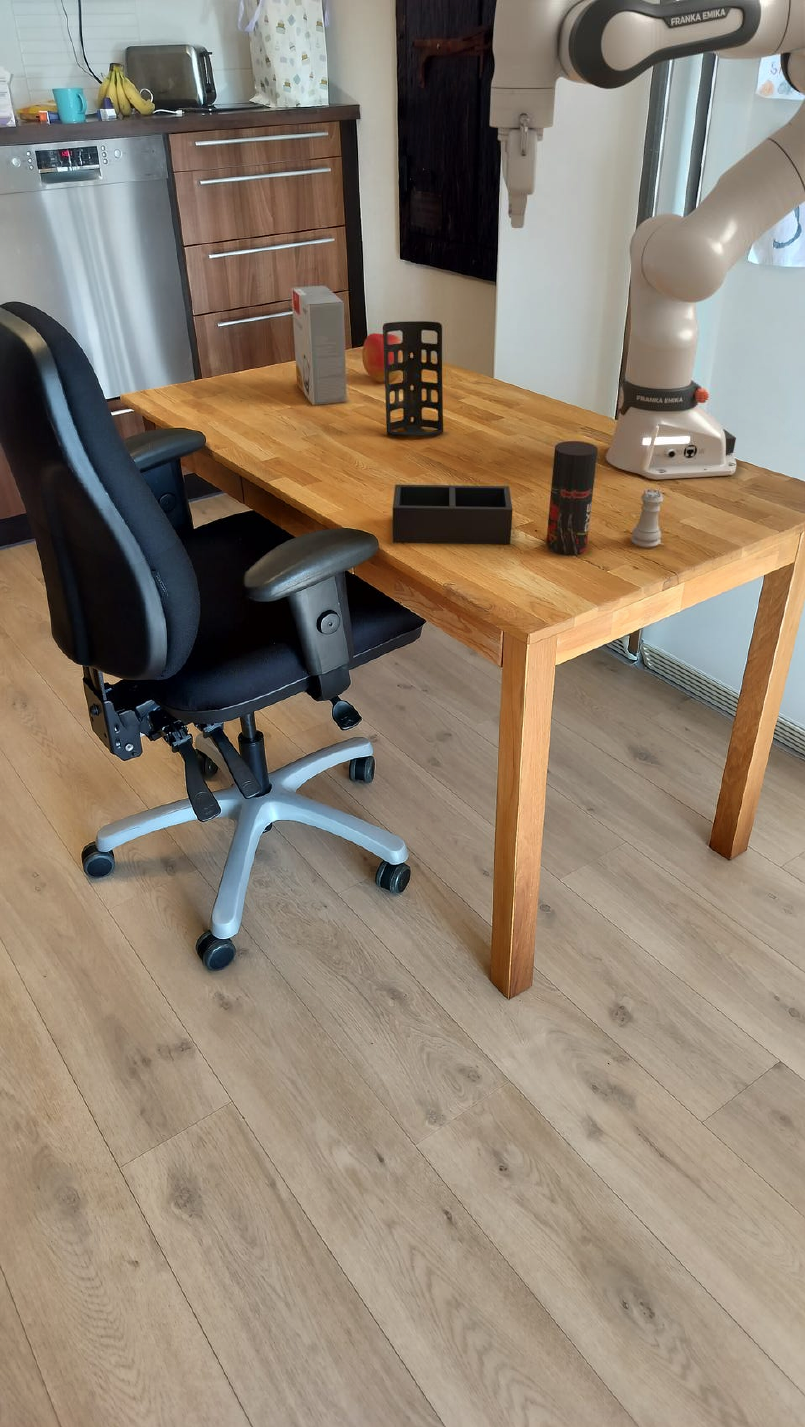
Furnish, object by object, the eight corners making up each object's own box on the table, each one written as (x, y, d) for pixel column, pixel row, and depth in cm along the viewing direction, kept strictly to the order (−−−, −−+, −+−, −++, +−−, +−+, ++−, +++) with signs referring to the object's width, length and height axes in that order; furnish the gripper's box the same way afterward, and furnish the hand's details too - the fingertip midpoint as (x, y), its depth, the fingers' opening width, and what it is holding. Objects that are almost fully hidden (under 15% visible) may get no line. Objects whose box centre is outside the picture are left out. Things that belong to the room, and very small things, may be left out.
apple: (375, 389, 213) (374, 341, 207) (355, 378, 220) (354, 331, 214) (414, 383, 217) (415, 335, 211) (393, 372, 224) (393, 326, 218)
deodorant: (585, 557, 144) (596, 456, 136) (544, 553, 145) (553, 453, 137) (587, 540, 149) (598, 442, 141) (547, 537, 150) (556, 439, 142)
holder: (390, 440, 185) (388, 326, 175) (380, 432, 191) (378, 321, 182) (447, 436, 187) (448, 323, 178) (435, 428, 194) (435, 318, 184)
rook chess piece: (656, 536, 150) (664, 485, 146) (663, 548, 147) (672, 497, 142) (627, 536, 150) (634, 486, 146) (633, 549, 147) (641, 497, 142)
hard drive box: (295, 385, 215) (290, 286, 204) (330, 382, 217) (326, 284, 206) (312, 406, 203) (307, 302, 192) (348, 402, 205) (345, 300, 194)
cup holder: (395, 518, 156) (395, 484, 153) (506, 520, 155) (509, 486, 152) (392, 543, 148) (392, 507, 145) (510, 545, 148) (512, 509, 145)
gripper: (550, 117, 129) (542, 234, 137) (539, 108, 146) (532, 212, 154) (501, 117, 129) (496, 233, 137) (496, 108, 146) (492, 212, 154)
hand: (515, 222), depth 146 cm, fingers open, 8 cm apart
